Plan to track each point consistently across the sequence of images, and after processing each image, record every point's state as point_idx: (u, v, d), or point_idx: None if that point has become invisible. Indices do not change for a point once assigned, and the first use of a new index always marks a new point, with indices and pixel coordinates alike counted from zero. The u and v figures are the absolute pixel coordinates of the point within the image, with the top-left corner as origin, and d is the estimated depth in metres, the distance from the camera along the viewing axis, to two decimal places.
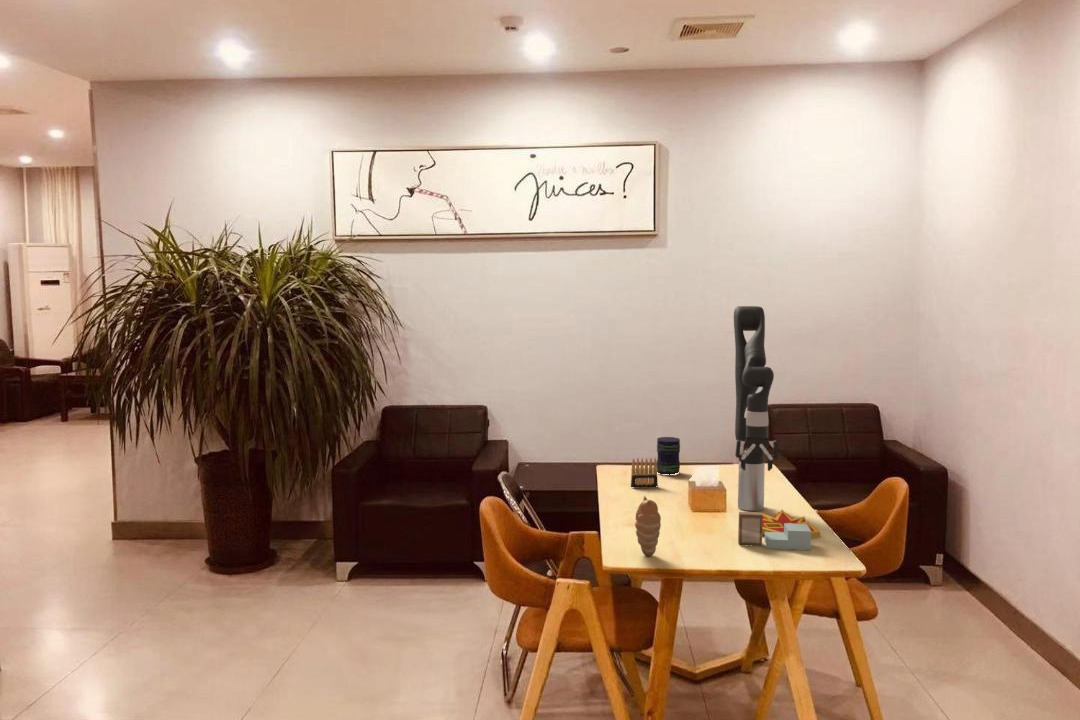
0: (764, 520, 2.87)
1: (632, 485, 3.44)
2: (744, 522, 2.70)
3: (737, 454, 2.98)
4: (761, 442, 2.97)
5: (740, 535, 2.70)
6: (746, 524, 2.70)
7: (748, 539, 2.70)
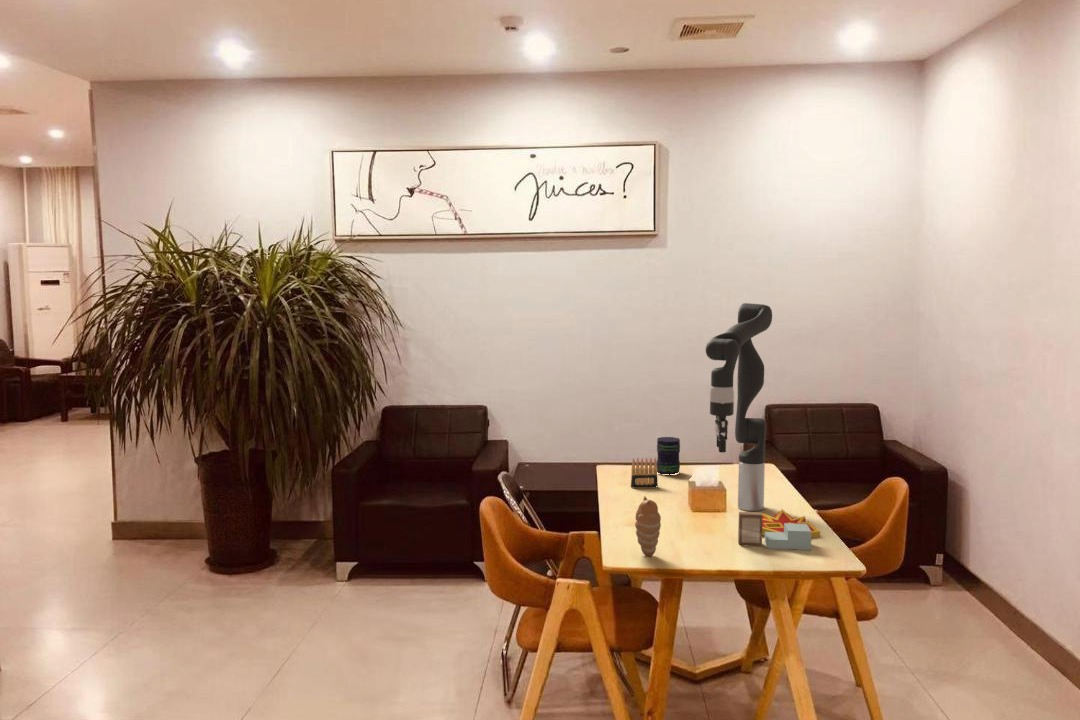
0: (764, 520, 2.87)
1: (632, 485, 3.44)
2: (744, 522, 2.70)
3: (726, 436, 2.72)
4: None
5: (740, 535, 2.70)
6: (746, 524, 2.70)
7: (748, 539, 2.70)
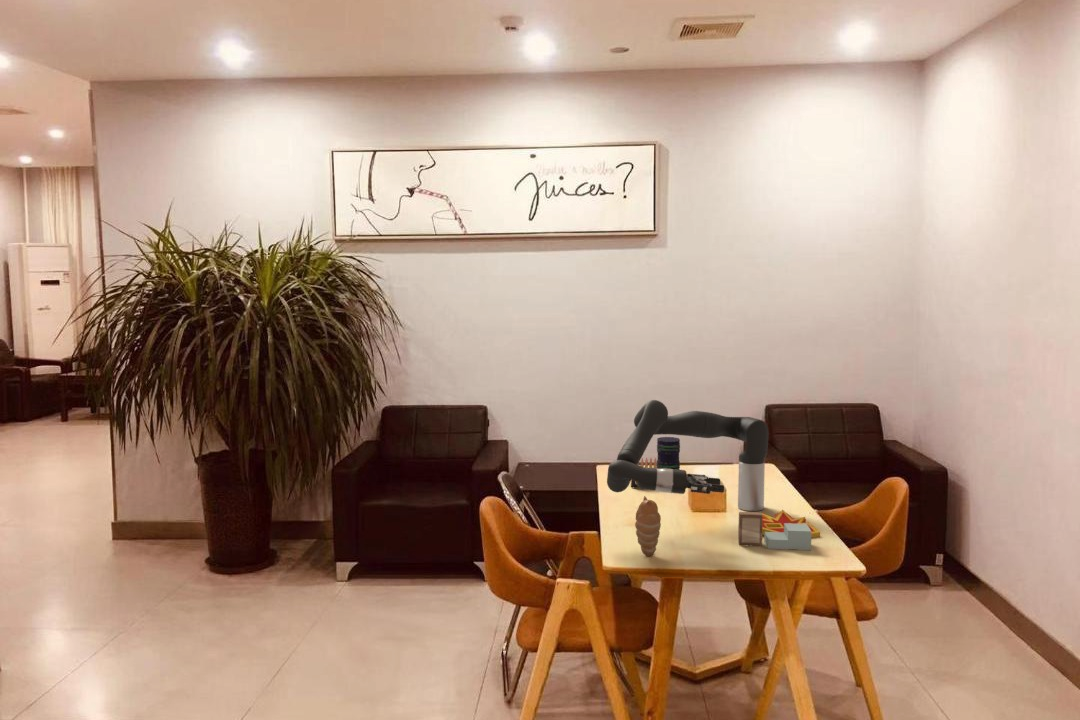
0: (764, 520, 2.87)
1: (632, 485, 3.44)
2: (744, 522, 2.70)
3: (707, 485, 2.64)
4: (690, 478, 2.72)
5: (740, 535, 2.70)
6: (746, 524, 2.70)
7: (748, 539, 2.70)
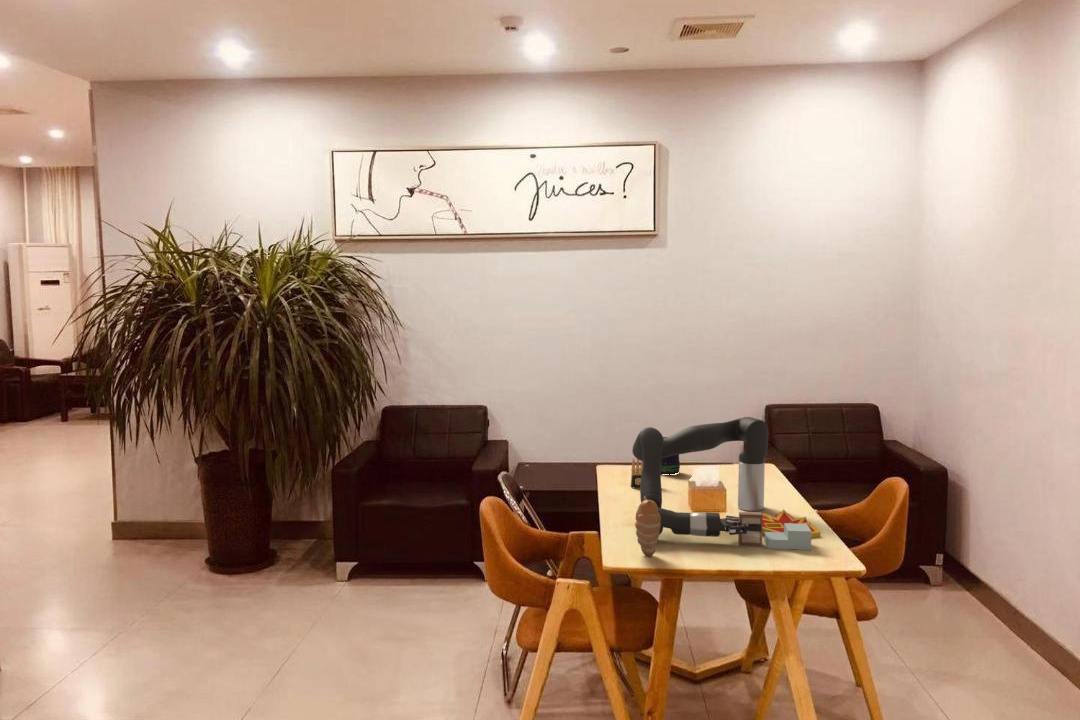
0: (765, 520, 2.87)
1: (632, 485, 3.44)
2: (744, 522, 2.70)
3: (743, 525, 2.67)
4: (724, 520, 2.74)
5: (740, 535, 2.70)
6: None
7: (748, 539, 2.70)
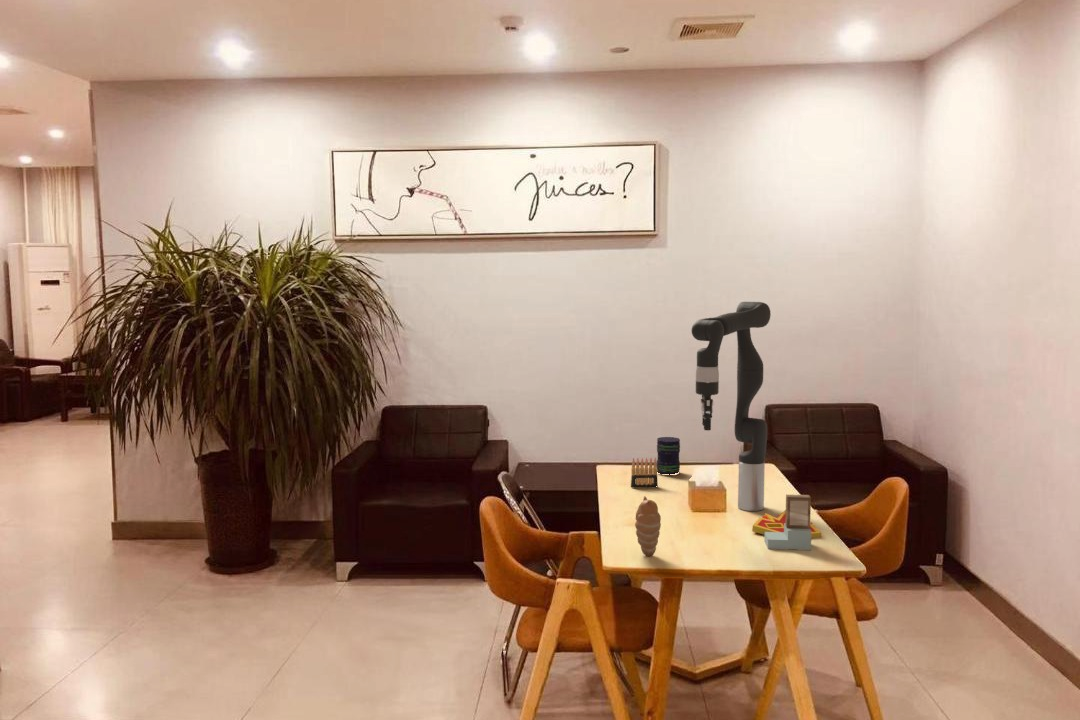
0: (766, 520, 2.87)
1: (632, 485, 3.44)
2: (792, 505, 2.67)
3: (711, 414, 2.80)
4: None
5: (788, 518, 2.68)
6: (794, 507, 2.67)
7: (796, 522, 2.68)
